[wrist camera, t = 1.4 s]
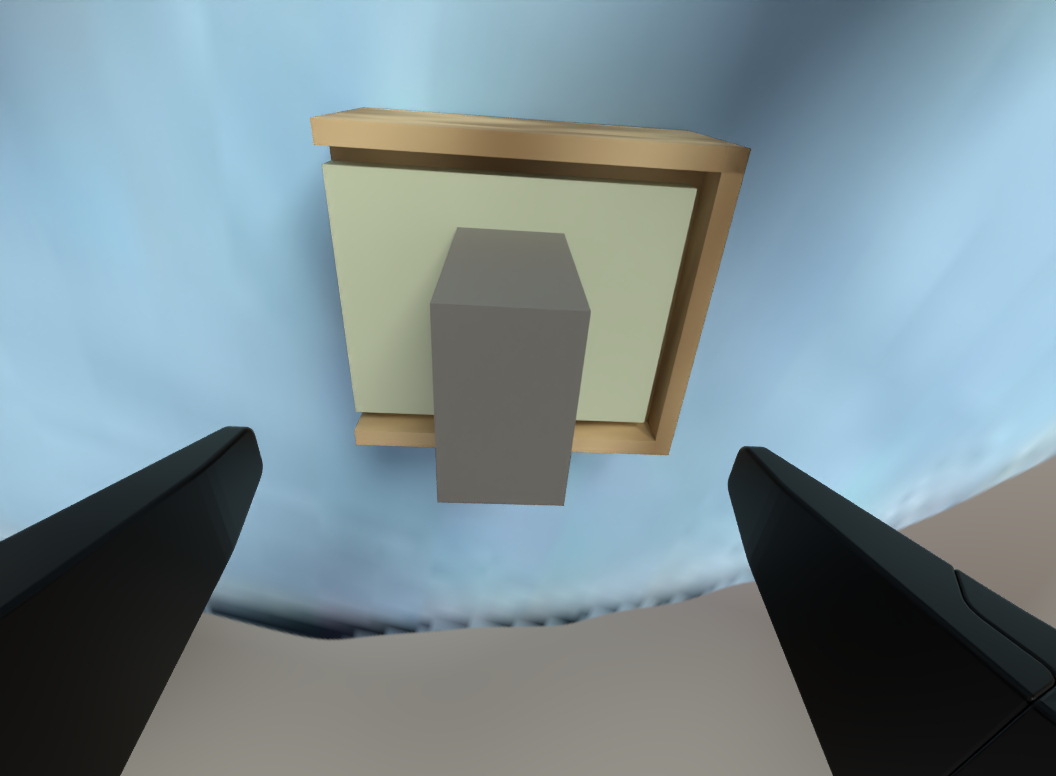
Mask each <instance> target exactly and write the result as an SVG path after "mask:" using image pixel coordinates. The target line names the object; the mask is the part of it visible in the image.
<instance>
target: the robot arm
mask: <svg viewBox="0 0 1056 776" xmlns="http://www.w3.org/2000/svg"><path fill="white" fill-rule="evenodd" d="M262 470H263V463H262V459H261V455H260V451H259V448H258V444H257V440H256V436H255V433H254V431H253V430H252V429H251V428H249V427H237V426H227V427H224V428H222V429H220V430H218V431H216V432H214V433H212V434H210V435H208V436H206V437H204V438H202V439H200V440H198V441H196V442H194V443H192V444H190V445H189V446H187V447H185V448H183V449H181V450H179V451H177V452H175V453H173V454H171V455H169V456H167V457H165V458H163V459H161V460H159V461H157V462H155V463H153V464H151V465H149V466H147V467H145V468H143V469H142V470H140V471H138V472H136V473H134V474H132V475H130V476H128V477H126V478H124V479H122V480H120V481H118V482H116V483H114V484H112V485H110V486H108V487H106V488H104V489H102V490H100V491H98V492H97V493H95V494H93V495H91V496H89V497H87V498H85V499H83V500H81V501H79V502H77V503H75V504H73V505H71V506H69V507H67V508H65V509H63V510H61V511H59V512H57V513H55V514H53V515H51V516H50V517H48V518H46V519H44V520H42V521H40V522H38V523H36V524H34V525H32V526H30V527H28V528H26V529H24V530H22V531H20V532H18V533H16V534H14V535H12V536H10V537H8V538H6V539H5V540H3V541H1V542H0V776H120V775H121V773H122V771H123V769H124V767H125V765H126V763H127V761H128V759H129V757H130V755H131V753H132V751H133V749H134V747H135V745H136V743H137V741H138V739H139V737H140V735H141V733H142V731H143V730H144V728H145V725H146V723H147V722H148V720H149V718H150V716H151V714H152V712H153V710H154V708H155V706H156V704H157V702H158V700H159V698H160V695H161V694H162V692H163V690H164V688H165V686H166V684H167V682H168V680H169V678H170V676H171V674H172V672H173V670H174V668H175V666H176V664H177V662H178V660H179V658H180V656H181V654H182V652H183V650H184V648H185V646H186V644H187V642H188V640H189V638H190V636H191V634H192V632H193V630H194V628H195V626H196V624H197V622H198V620H199V618H200V617H201V615H202V613H203V611H204V609H205V607H206V605H207V603H208V601H209V599H210V597H211V595H212V593H213V591H214V589H215V587H216V585H217V583H218V581H219V579H220V577H221V575H222V573H223V571H224V569H225V567H226V565H227V563H228V561H229V559H230V557H231V555H232V552H233V550H234V548H235V545H236V543H237V541H238V538H239V535H240V533H241V530H242V527H243V525H244V522H245V519H246V516H247V514H248V511H249V508H250V505H251V503H252V500H253V497H254V495H255V492H256V489H257V486H258V484H259V481H260V478H261V475H262ZM728 491H729V495H730V499H731V503H732V506H733V510H734V514H735V517H736V521H737V525H738V528H739V532H740V535H741V539H742V543H743V546H744V550H745V553H746V557H747V560H748V563H749V566H750V568H751V571H752V574H753V576H754V579H755V581H756V584H757V586H758V589H759V591H760V594H761V596H762V599H763V601H764V604H765V606H766V609H767V611H768V614H769V616H770V619H771V621H772V624H773V626H774V629H775V631H776V634H777V637H778V639H779V642H780V644H781V647H782V649H783V651H784V654H785V657H786V659H787V661H788V664H789V667H790V669H791V672H792V674H793V677H794V679H795V682H796V684H797V687H798V689H799V692H800V694H801V697H802V699H803V702H804V704H805V707H806V709H807V712H808V714H809V716H810V719H811V722H812V724H813V727H814V729H815V732H816V734H817V737H818V739H819V742H820V744H821V747H822V749H823V751H824V754H825V757H826V760H827V762H828V764H829V767H830V770H831V772H832V774H833V776H1056V629H1055V628H1053V627H1052V626H1050V625H1048V624H1047V623H1045V622H1043V621H1041V620H1039V619H1038V618H1036V617H1034V616H1033V615H1031V614H1029V613H1028V612H1026V611H1024V610H1023V609H1021V608H1019V607H1018V606H1016V605H1014V604H1013V603H1011V602H1010V601H1008V600H1006V599H1005V598H1003V597H1001V596H1000V595H998V594H996V593H995V592H993V591H991V590H990V589H988V588H987V587H985V586H983V585H982V584H980V583H979V582H977V581H976V580H974V579H972V578H971V577H969V576H968V575H966V574H965V573H963V572H961V571H960V570H958V569H955V570H954V568H953V567H952V565H950V564H949V563H947V562H945V561H944V560H942V559H941V558H939V557H938V556H936V555H934V554H933V553H931V552H930V551H928V550H927V549H925V548H923V547H922V546H920V545H919V544H917V543H915V542H914V541H912V540H911V539H909V538H908V537H906V536H904V535H903V534H901V533H900V532H898V531H896V530H895V529H893V528H892V527H890V526H889V525H887V524H885V523H884V522H882V521H881V520H879V519H877V518H876V517H874V516H873V515H871V514H870V513H868V512H866V511H865V510H863V509H862V508H860V507H858V506H857V505H855V504H854V503H852V502H851V501H849V500H847V499H846V498H844V497H843V496H841V495H839V494H838V493H836V492H835V491H833V490H832V489H830V488H828V487H827V486H825V485H824V484H822V483H821V482H819V481H817V480H816V479H814V478H813V477H811V476H809V475H808V474H806V473H805V472H803V471H802V470H800V469H798V468H797V467H795V466H794V465H792V464H790V463H789V462H787V461H786V460H784V459H783V458H781V457H779V456H778V455H776V454H775V453H773V452H772V451H770V450H768V449H767V448H764V447H754V446H744V447H742V448H741V449H740V450H739V452H738V454H737V457H736V459H735V462H734V465H733V468H732V470H731V473H730V476H729V479H728Z"/></svg>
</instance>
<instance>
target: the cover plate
mask: <svg viewBox="0 0 1056 776" xmlns="http://www.w3.org/2000/svg"><path fill="white" fill-rule="evenodd" d="M322 168H323V176H324V183H325V190H326V198H327V205H328V212H329V219H330V227H331V234H332V241H333V249H334V256H335V263H336V271H337V278H338V285H339V293H340V300H341V307H342V314H343V322H344V329H345V336H346V344H347V351H348V358H349V366H350V373H351V380H352V388H353V395H354V402H355V409H356V412H373V413H400V414H427V415H434V425H435V450H436V476H437V502H447V503H484V504H520V505H557V506H564V501H565V494H566V486H567V479H568V472H569V465H570V458H571V451H572V444H573V437H574V429H575V422H576V420H587V421H614V422H640V423H644V421H645V417H646V412H647V408H648V403H649V399H650V395H651V390H652V386H653V381H654V377H655V373H656V368H657V364H658V359H659V355H660V351H661V346H662V342H663V337H664V333H665V329H666V324H667V320H668V315H669V311H670V307H671V302H672V298H673V294H674V289H675V285H676V280H677V276H678V272H679V267H680V263H681V258H682V254H683V250H684V245H685V241H686V236H687V232H688V228H689V223H690V219H691V214H692V210H693V206H694V201H695V197H696V193H697V188H695V187H693V186H691V185H690V184H685V183H670V182H655V181H639V180H624V179H609V178H594V177H579V176H564V175H549V174H533V173H518V172H503V171H488V170H473V169H458V168H442V167H427V166H412V165H397V164H382V163H367V162H351V161H336V160H331V161H328V162H326V163H324V164H322Z"/></svg>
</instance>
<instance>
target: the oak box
mask: <svg viewBox="0 0 1056 776" xmlns="http://www.w3.org/2000/svg"><path fill="white" fill-rule="evenodd" d="M310 122H311V129H312V136H313V143H314V145H322V146H330V154H331V160H336V161H351V162H367V163H382V164H397V165H412V166H427V167H442V168H458V169H473V170H488V171H503V172H518V173H533V174H549V175H564V176H579V177H594V178H609V179H624V180H639V181H655V182H670V183H685V184H690V185H691V186H693V187H695V188H697V193H696V197H695V201H694V206H693V210H692V214H691V219H690V223H689V228H688V232H687V236H686V241H685V245H684V250H683V254H682V258H681V263H680V267H679V272H678V276H677V280H676V285H675V289H674V294H673V298H672V302H671V307H670V311H669V315H668V320H667V324H666V329H665V333H664V337H663V342H662V346H661V351H660V355H659V359H658V364H657V368H656V373H655V377H654V381H653V386H652V390H651V395H650V399H649V403H648V408H647V412H646V417H645V421H644V423H640V422H614V421H587V420H576V422H575V429H574V437H573V444H572V451H571V452H589V453H619V454H649V455H669V451H670V447H671V443H672V440H673V436H674V432H675V429H676V425H677V421H678V418H679V414H680V410H681V406H682V403H683V399H684V395H685V392H686V388H687V384H688V380H689V377H690V373H691V369H692V366H693V362H694V358H695V354H696V351H697V347H698V343H699V340H700V336H701V332H702V329H703V325H704V321H705V317H706V314H707V310H708V306H709V303H710V299H711V295H712V291H713V288H714V284H715V280H716V277H717V273H718V269H719V265H720V262H721V258H722V254H723V251H724V247H725V243H726V240H727V236H728V232H729V228H730V225H731V221H732V217H733V214H734V210H735V206H736V202H737V199H738V195H739V191H740V188H741V184H742V180H743V176H744V173H745V169H746V165H747V162H748V158H749V154H750V151H751V149H750V148H747V147H743V146H740V145H736V144H733V143H729V142H726V141H722V140H719V139H716V138H712V137H709V136H705V135H702V134H698V133H695V132H691V131H684V130H670V129H656V128H642V127H628V126H614V125H601V124H587V123H573V122H559V121H545V120H531V119H518V118H504V117H490V116H476V115H462V114H448V113H435V112H421V111H407V110H393V109H379V108H365V107H363V108H358V109H352V110H347V111H342V112H337V113H332V114H326V115H321V116H316V117H311V118H310ZM354 431H355V438H356V445H382V446H411V447H435V425H434V415H427V414H400V413H373V412H362V415H361V417H360V419H359V421H358V424H357V426H356V428H355V430H354Z"/></svg>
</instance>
